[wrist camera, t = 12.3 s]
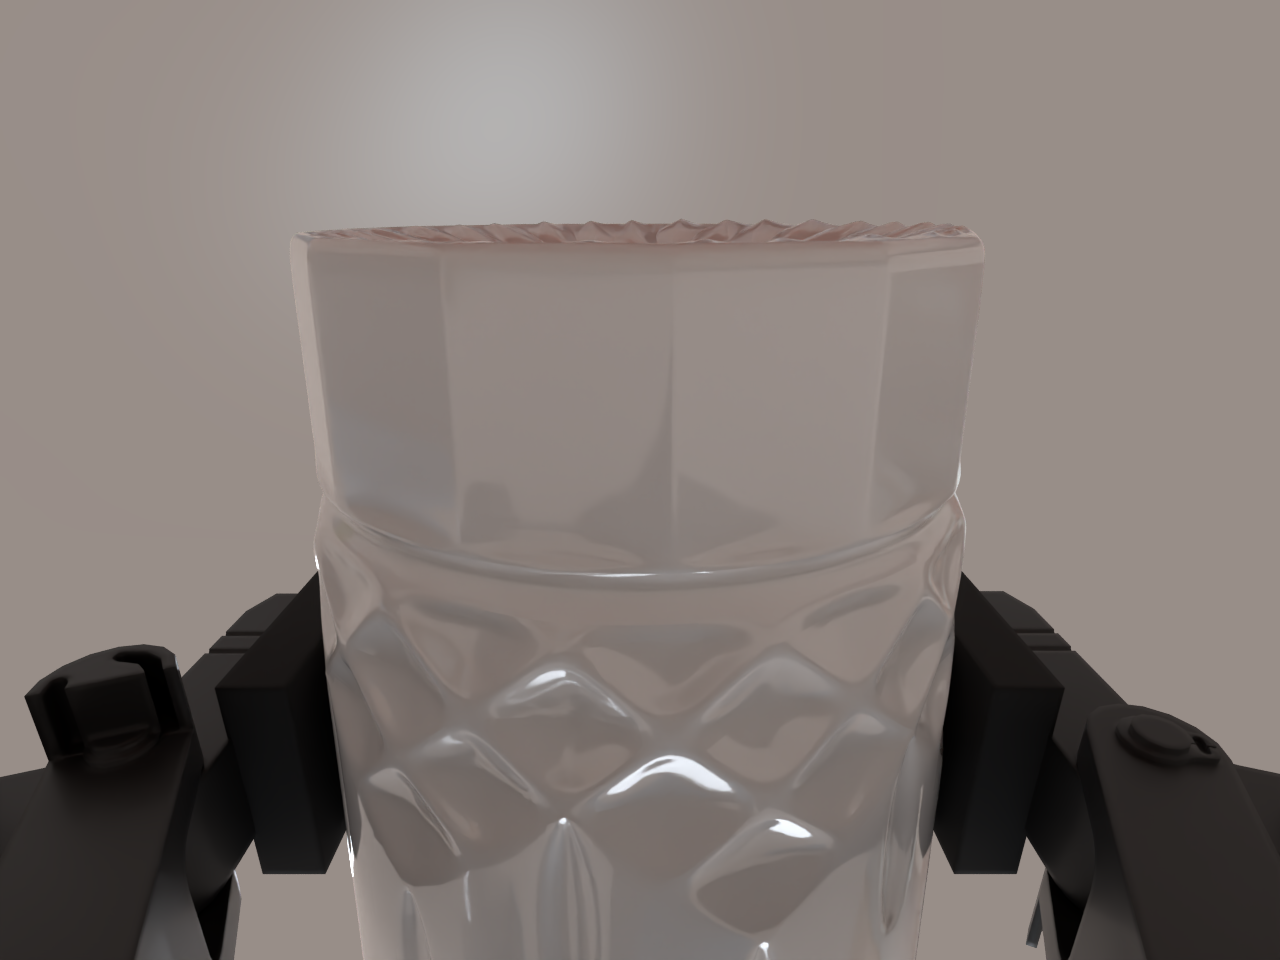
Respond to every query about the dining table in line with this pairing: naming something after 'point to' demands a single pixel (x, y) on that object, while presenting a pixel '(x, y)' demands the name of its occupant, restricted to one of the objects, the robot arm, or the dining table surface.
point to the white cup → (639, 579)
